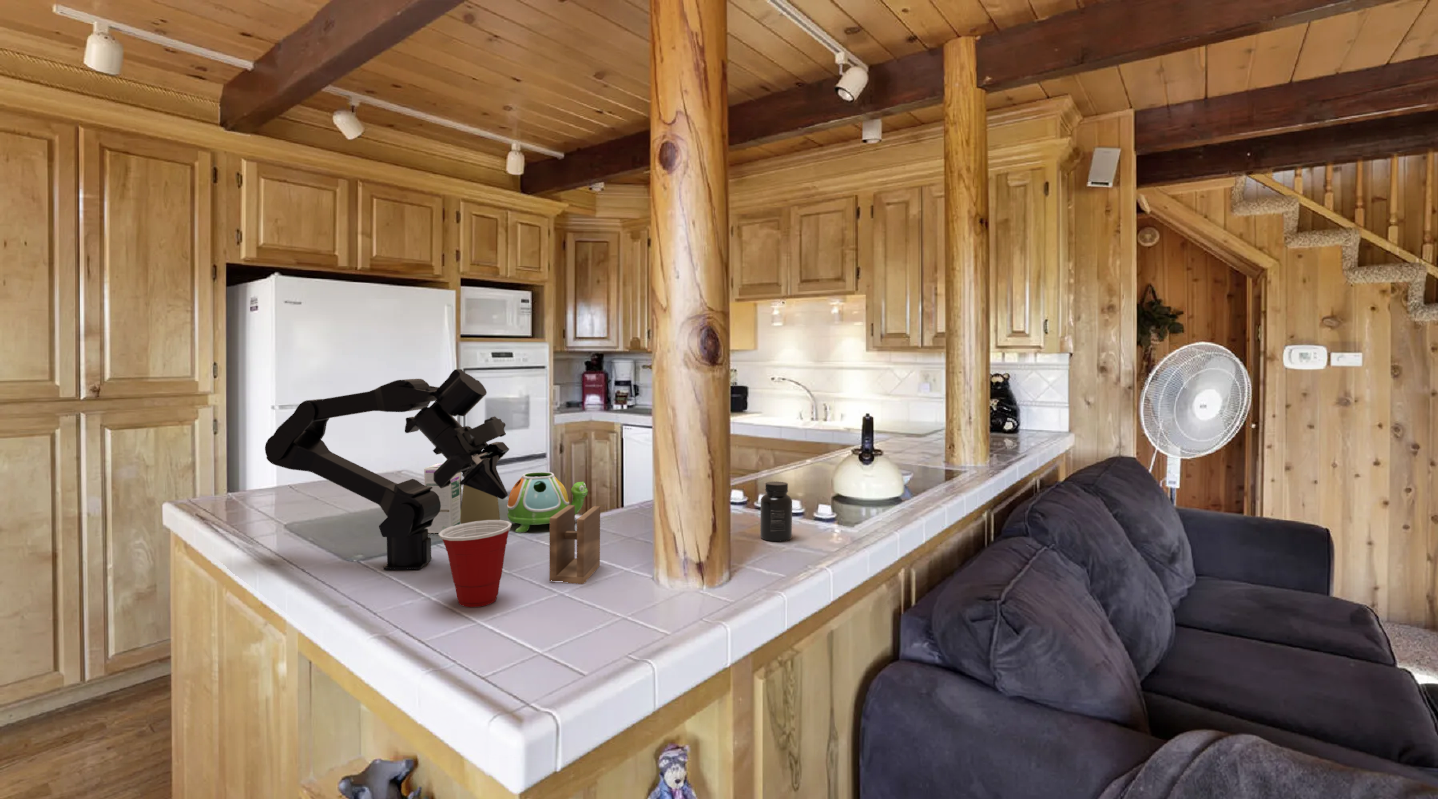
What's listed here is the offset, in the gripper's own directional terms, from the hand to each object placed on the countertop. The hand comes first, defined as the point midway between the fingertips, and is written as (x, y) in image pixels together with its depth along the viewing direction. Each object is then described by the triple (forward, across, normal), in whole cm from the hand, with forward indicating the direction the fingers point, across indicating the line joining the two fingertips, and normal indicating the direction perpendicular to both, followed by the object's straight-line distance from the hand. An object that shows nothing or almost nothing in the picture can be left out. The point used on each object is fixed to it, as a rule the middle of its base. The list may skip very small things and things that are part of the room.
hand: (505, 497), depth 121 cm
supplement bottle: (+43, +29, -25) cm, 58 cm away
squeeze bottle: (0, +20, +20) cm, 28 cm away
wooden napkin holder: (+19, 0, 0) cm, 19 cm away
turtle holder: (+7, +31, +13) cm, 34 cm away
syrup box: (-7, +23, +27) cm, 36 cm away
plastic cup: (+11, -15, +8) cm, 20 cm away
